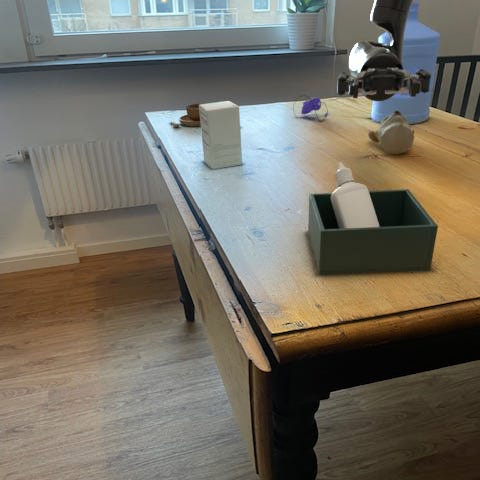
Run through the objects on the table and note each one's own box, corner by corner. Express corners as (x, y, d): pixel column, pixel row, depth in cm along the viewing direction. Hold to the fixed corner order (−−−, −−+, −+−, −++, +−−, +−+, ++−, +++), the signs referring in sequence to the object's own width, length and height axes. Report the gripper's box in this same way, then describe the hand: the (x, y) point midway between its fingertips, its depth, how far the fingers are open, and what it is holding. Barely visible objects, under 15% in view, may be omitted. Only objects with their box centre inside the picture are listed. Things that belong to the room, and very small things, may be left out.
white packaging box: (233, 157, 119) (229, 100, 112) (242, 165, 113) (239, 105, 106) (203, 161, 118) (197, 103, 111) (211, 170, 112) (206, 109, 105)
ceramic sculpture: (376, 116, 108) (368, 106, 121) (372, 157, 112) (365, 143, 125) (427, 115, 107) (414, 105, 120) (421, 156, 111) (409, 143, 124)
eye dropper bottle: (381, 230, 71) (357, 151, 72) (342, 242, 73) (319, 165, 74) (381, 234, 76) (359, 160, 76) (345, 246, 77) (323, 173, 78)
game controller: (291, 102, 151) (324, 93, 150) (297, 130, 153) (329, 121, 152) (291, 97, 142) (326, 87, 140) (297, 127, 144) (332, 118, 142)
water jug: (398, 110, 151) (411, 1, 135) (440, 119, 139) (459, 0, 124) (359, 119, 145) (368, 5, 129) (399, 128, 133) (414, 4, 118)
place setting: (221, 115, 158) (219, 95, 155) (243, 128, 143) (242, 106, 139) (167, 122, 154) (164, 102, 150) (184, 136, 138) (181, 114, 135)
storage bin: (402, 229, 80) (408, 189, 77) (430, 270, 69) (438, 226, 65) (308, 233, 81) (309, 193, 77) (318, 275, 69) (320, 231, 66)
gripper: (339, 52, 88) (338, 64, 75) (424, 48, 85) (438, 60, 72) (337, 98, 92) (335, 117, 79) (418, 95, 89) (430, 115, 76)
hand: (384, 90), depth 75 cm, fingers open, 8 cm apart
